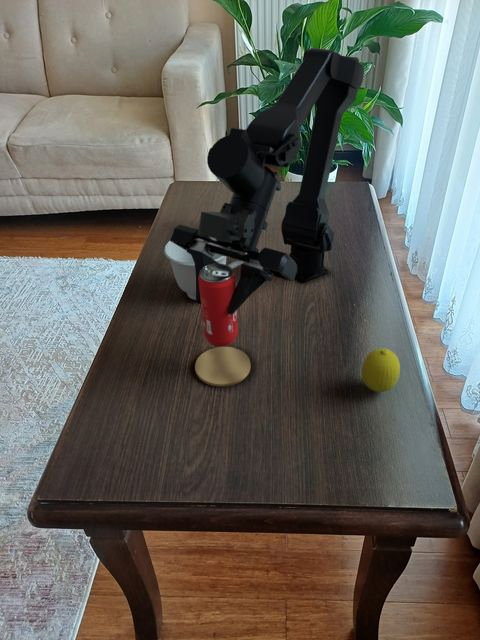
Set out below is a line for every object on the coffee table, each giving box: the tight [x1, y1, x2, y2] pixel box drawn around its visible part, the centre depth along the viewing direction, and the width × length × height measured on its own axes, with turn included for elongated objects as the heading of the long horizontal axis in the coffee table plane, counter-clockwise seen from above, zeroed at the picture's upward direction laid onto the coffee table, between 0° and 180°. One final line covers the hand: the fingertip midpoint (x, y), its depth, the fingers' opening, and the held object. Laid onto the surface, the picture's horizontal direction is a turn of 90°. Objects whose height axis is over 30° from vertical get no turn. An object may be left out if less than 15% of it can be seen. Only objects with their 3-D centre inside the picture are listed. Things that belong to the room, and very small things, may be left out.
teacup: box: [163, 237, 244, 301], centre depth 98 cm, size 12×15×10 cm
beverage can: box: [198, 263, 239, 348], centre depth 77 cm, size 5×5×12 cm
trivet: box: [194, 346, 252, 388], centre depth 85 cm, size 9×9×1 cm
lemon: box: [361, 347, 401, 393], centre depth 78 cm, size 6×6×8 cm
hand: (213, 308), depth 76 cm, fingers closed on beverage can, 5 cm apart
